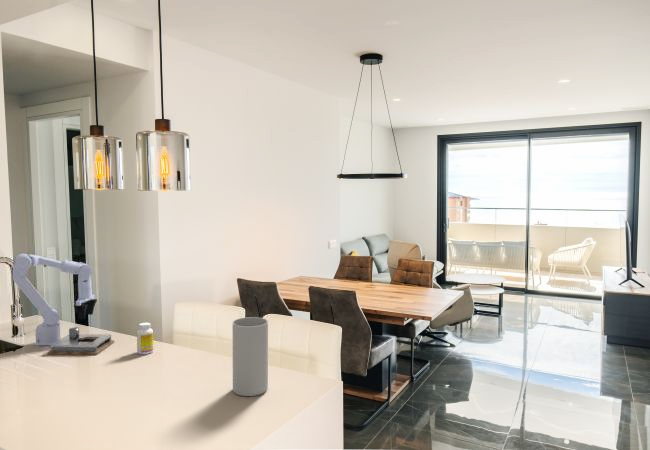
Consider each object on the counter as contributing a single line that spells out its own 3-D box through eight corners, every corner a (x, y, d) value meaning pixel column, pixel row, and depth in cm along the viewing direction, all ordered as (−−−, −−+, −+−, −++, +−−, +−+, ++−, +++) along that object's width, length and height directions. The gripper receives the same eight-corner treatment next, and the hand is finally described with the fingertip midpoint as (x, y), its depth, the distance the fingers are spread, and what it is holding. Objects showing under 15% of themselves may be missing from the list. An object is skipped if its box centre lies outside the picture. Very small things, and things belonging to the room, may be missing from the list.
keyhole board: (47, 354, 202) (47, 352, 202) (68, 342, 219) (68, 340, 219) (97, 354, 203) (97, 352, 203) (114, 342, 220) (114, 340, 219)
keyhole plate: (51, 351, 203) (50, 344, 203) (69, 340, 218) (69, 334, 218) (96, 351, 203) (95, 344, 203) (111, 340, 218) (111, 334, 218)
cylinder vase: (273, 385, 173) (273, 318, 171) (259, 399, 161) (259, 328, 159) (242, 381, 176) (242, 316, 174) (226, 394, 164) (226, 325, 162)
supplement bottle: (156, 351, 207) (156, 323, 207) (143, 356, 202) (143, 326, 201) (146, 348, 211) (146, 321, 210) (134, 353, 205) (133, 324, 204)
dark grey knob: (64, 348, 208) (64, 330, 207) (71, 343, 214) (71, 326, 213) (77, 348, 208) (77, 330, 207) (83, 344, 214) (83, 326, 213)
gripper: (85, 292, 217) (87, 320, 218) (100, 285, 231) (101, 312, 233) (70, 292, 217) (72, 320, 218) (86, 285, 231) (87, 312, 232)
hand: (86, 316), depth 225 cm, fingers open, 7 cm apart
